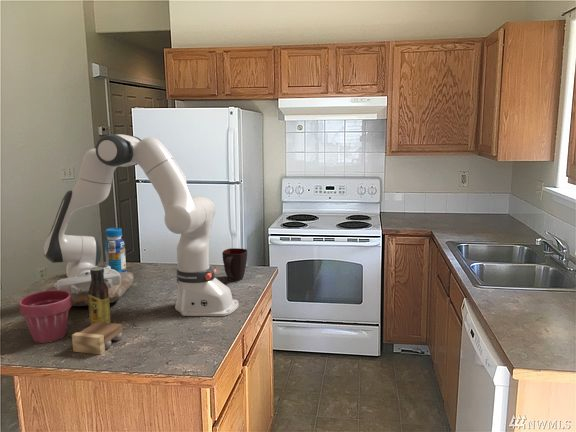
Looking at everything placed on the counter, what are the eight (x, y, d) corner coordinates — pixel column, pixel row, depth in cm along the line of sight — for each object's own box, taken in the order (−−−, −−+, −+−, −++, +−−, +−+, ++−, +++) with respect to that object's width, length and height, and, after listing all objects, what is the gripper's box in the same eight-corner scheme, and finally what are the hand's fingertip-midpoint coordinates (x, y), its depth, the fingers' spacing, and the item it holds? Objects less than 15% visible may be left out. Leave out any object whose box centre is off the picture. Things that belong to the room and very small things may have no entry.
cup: (250, 276, 209) (250, 249, 207) (239, 286, 196) (238, 257, 194) (229, 274, 212) (228, 247, 210) (216, 284, 199) (215, 255, 196)
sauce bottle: (87, 327, 156) (81, 267, 153) (105, 322, 161) (101, 264, 157) (95, 333, 152) (90, 272, 148) (114, 327, 156) (110, 267, 153)
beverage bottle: (103, 273, 214) (99, 229, 211) (120, 269, 220) (117, 226, 217) (113, 277, 209) (109, 232, 205) (130, 273, 215) (127, 228, 212)
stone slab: (136, 283, 201) (135, 269, 200) (126, 308, 173) (124, 291, 172) (56, 288, 196) (55, 274, 195) (33, 315, 168) (31, 298, 167)
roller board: (123, 337, 148) (122, 322, 147) (100, 354, 137) (99, 337, 137) (97, 335, 150) (96, 320, 149) (73, 351, 140) (71, 335, 139)
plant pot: (27, 351, 140) (22, 309, 138) (19, 335, 151) (15, 295, 149) (79, 338, 148) (76, 298, 146) (69, 323, 159) (65, 286, 157)
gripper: (51, 274, 164) (58, 285, 153) (114, 264, 175) (124, 274, 164) (53, 292, 165) (60, 304, 154) (115, 281, 176) (126, 291, 165)
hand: (94, 288), depth 159 cm, fingers open, 8 cm apart
